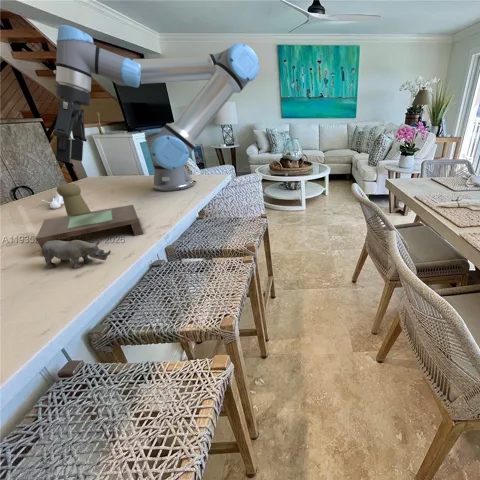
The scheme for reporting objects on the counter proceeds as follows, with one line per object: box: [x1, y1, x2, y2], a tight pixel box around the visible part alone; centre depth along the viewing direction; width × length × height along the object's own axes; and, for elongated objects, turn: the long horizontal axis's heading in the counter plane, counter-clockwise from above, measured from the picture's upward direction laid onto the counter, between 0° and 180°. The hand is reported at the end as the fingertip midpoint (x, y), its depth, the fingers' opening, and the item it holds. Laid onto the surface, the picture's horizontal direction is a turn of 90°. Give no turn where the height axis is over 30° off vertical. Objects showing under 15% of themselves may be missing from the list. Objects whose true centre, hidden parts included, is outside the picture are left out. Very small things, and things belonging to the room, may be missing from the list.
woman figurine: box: [40, 189, 64, 210], centre depth 96 cm, size 12×4×18 cm
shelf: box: [35, 204, 144, 249], centre depth 71 cm, size 20×14×5 cm
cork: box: [56, 182, 92, 216], centre depth 80 cm, size 6×6×11 cm
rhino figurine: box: [40, 239, 112, 269], centre depth 57 cm, size 4×14×6 cm, turn 93°
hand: (70, 160), depth 82 cm, fingers open, 13 cm apart
